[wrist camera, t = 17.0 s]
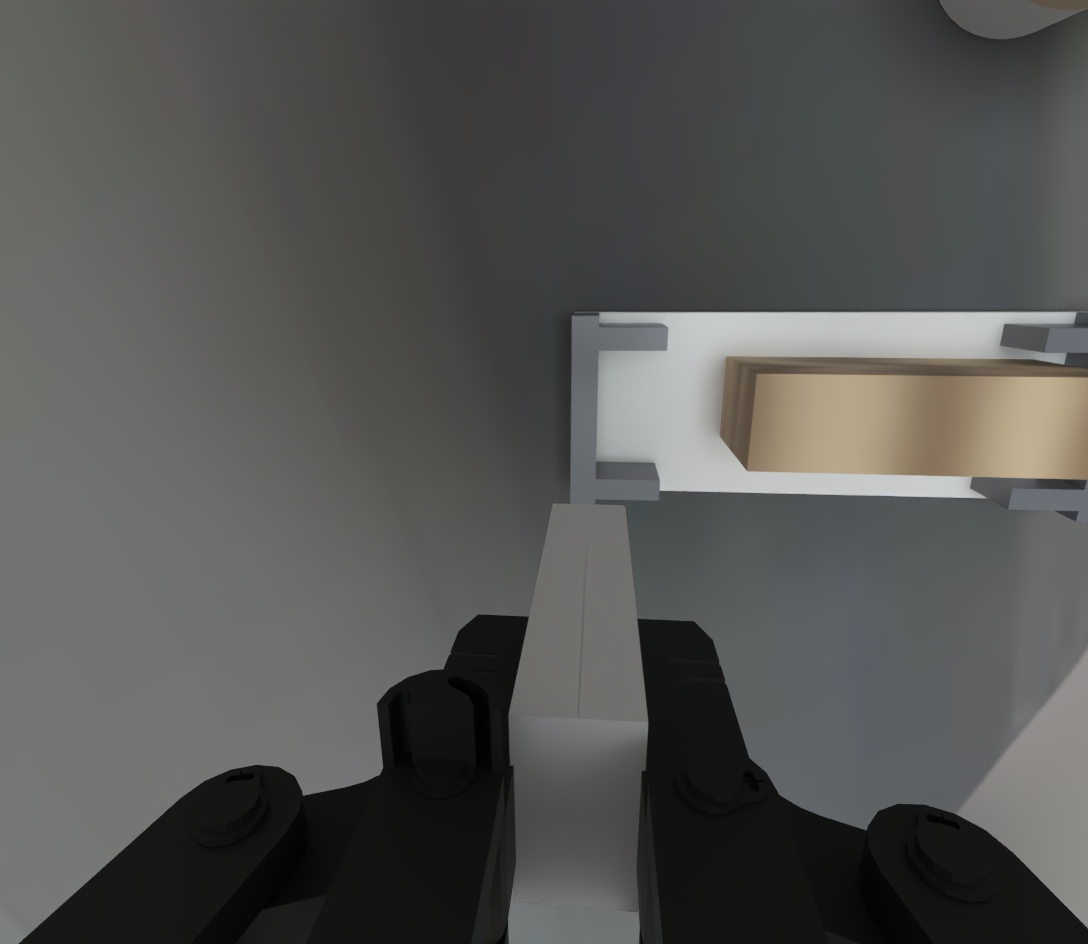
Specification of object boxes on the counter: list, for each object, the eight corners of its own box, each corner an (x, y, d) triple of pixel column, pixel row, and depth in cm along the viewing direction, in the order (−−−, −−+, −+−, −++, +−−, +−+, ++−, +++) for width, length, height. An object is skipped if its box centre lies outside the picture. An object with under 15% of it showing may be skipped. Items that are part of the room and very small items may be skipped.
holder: (575, 311, 31) (572, 315, 27) (1088, 311, 29) (1162, 315, 25) (573, 482, 33) (570, 508, 30) (1043, 493, 31) (1104, 522, 28)
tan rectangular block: (719, 436, 31) (746, 471, 25) (726, 356, 30) (756, 373, 24) (1013, 442, 30) (1112, 480, 24) (1033, 359, 29) (1141, 378, 23)
